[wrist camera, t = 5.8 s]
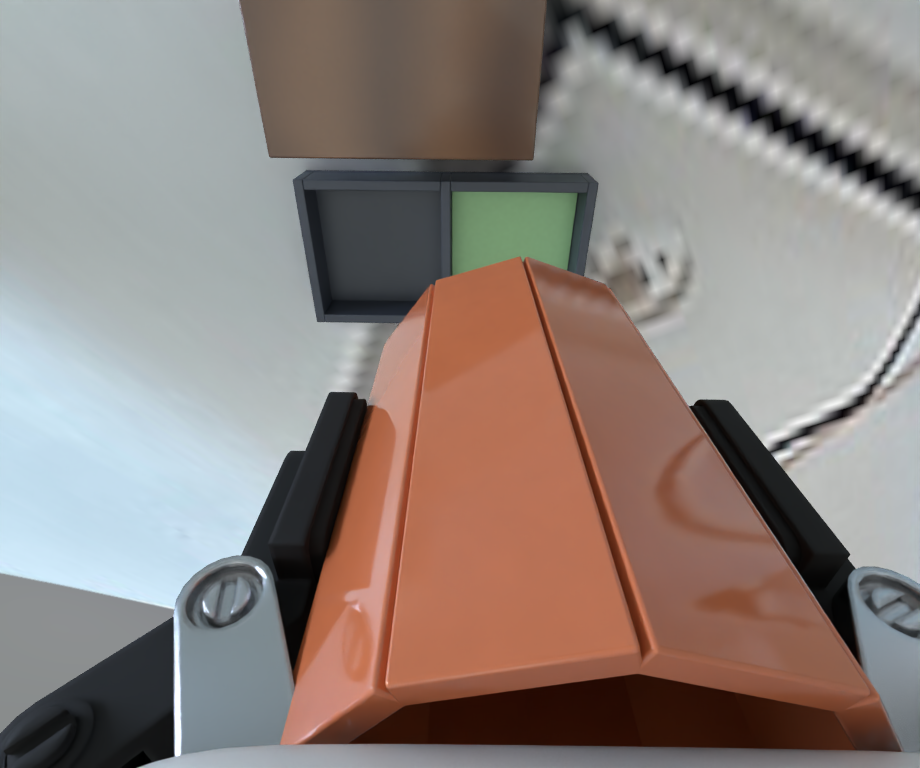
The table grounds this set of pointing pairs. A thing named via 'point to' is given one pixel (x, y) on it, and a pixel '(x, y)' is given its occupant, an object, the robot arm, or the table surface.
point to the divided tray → (431, 232)
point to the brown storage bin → (397, 77)
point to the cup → (557, 551)
